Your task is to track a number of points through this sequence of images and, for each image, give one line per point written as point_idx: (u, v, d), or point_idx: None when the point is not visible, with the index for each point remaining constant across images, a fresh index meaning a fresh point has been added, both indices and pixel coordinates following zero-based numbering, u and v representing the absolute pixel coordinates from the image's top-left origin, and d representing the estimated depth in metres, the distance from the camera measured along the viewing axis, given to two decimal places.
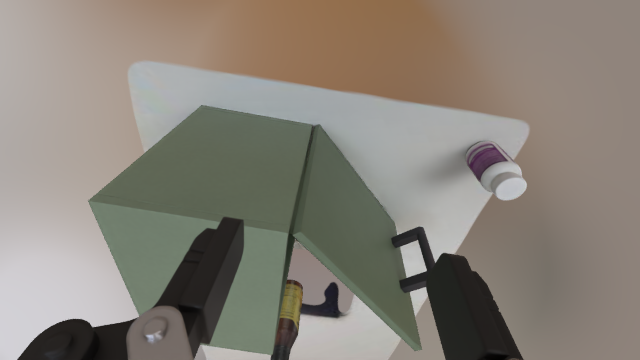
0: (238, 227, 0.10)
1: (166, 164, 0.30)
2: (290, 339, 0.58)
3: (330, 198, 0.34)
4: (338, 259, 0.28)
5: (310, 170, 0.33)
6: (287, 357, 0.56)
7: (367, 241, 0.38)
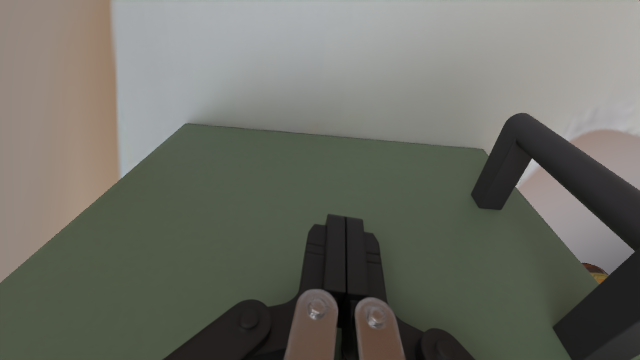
0: (344, 223, 0.11)
1: None
2: None
3: (124, 264, 0.12)
4: None
5: None
6: None
7: None
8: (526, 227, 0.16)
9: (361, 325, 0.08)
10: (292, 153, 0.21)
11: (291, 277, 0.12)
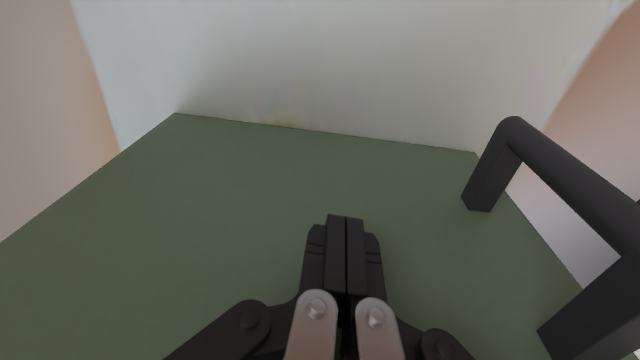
0: (344, 223, 0.11)
1: None
2: None
3: (100, 254, 0.12)
4: None
5: None
6: None
7: None
8: (514, 230, 0.16)
9: (361, 325, 0.08)
10: (283, 148, 0.21)
11: (276, 273, 0.12)
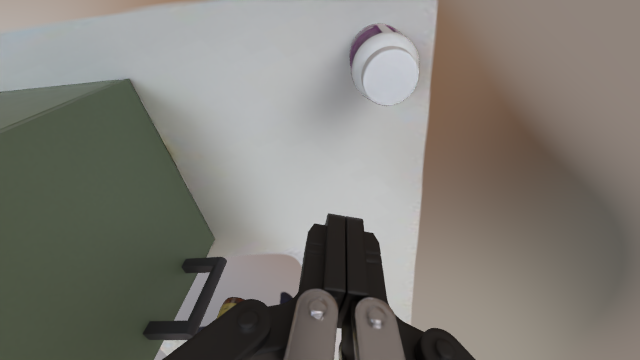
0: (344, 223, 0.11)
1: None
2: None
3: (38, 185, 0.21)
4: None
5: (7, 130, 0.20)
6: None
7: (103, 263, 0.26)
8: (183, 285, 0.36)
9: (361, 325, 0.08)
10: (155, 171, 0.33)
11: (98, 249, 0.25)
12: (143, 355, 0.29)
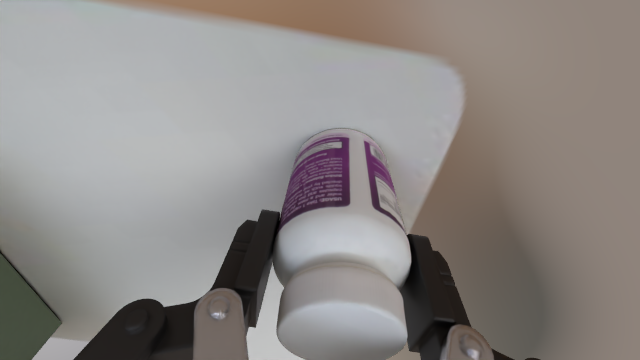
0: (277, 219, 0.10)
1: None
2: None
3: None
4: None
5: None
6: None
7: None
8: None
9: (453, 346, 0.07)
10: None
11: None
12: None
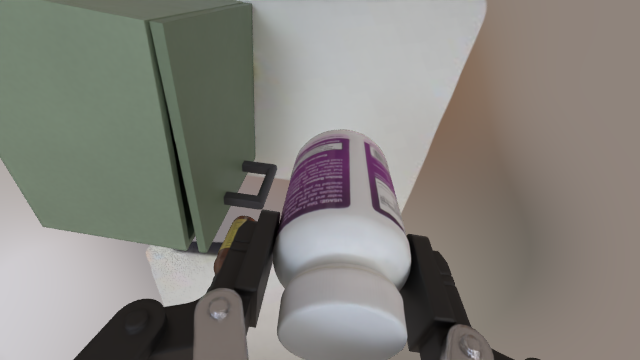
0: (277, 219, 0.10)
1: None
2: None
3: (216, 57, 0.30)
4: (183, 100, 0.24)
5: (214, 11, 0.28)
6: None
7: (222, 132, 0.35)
8: (239, 179, 0.46)
9: (453, 346, 0.07)
10: (247, 82, 0.42)
11: (222, 120, 0.34)
12: (220, 213, 0.39)
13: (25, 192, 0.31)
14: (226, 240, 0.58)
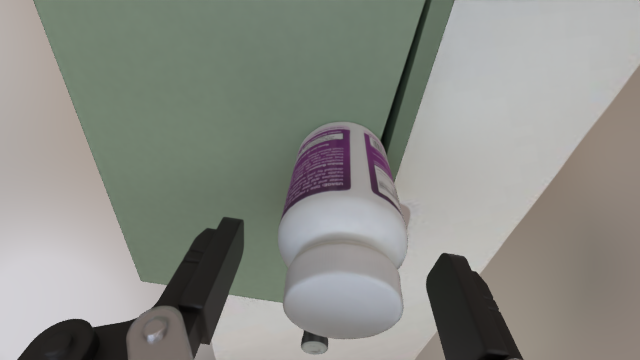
0: (238, 227, 0.10)
1: None
2: None
3: None
4: None
5: None
6: None
7: None
8: None
9: None
10: None
11: None
12: None
13: (131, 241, 0.23)
14: None
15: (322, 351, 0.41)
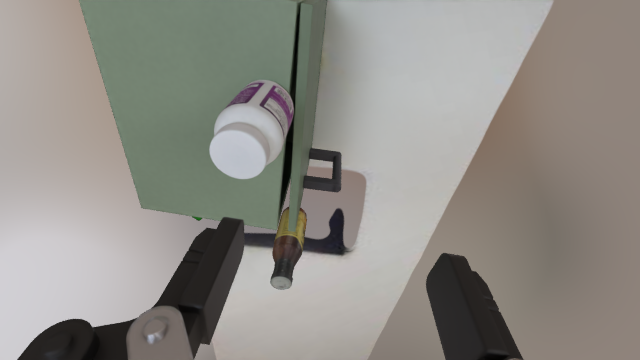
0: (238, 227, 0.10)
1: None
2: (294, 255, 0.55)
3: None
4: (308, 79, 0.26)
5: None
6: (291, 270, 0.52)
7: None
8: (307, 166, 0.47)
9: None
10: (318, 71, 0.44)
11: (311, 104, 0.36)
12: (301, 195, 0.40)
13: (135, 173, 0.33)
14: (281, 228, 0.59)
15: (287, 286, 0.51)
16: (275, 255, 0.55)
